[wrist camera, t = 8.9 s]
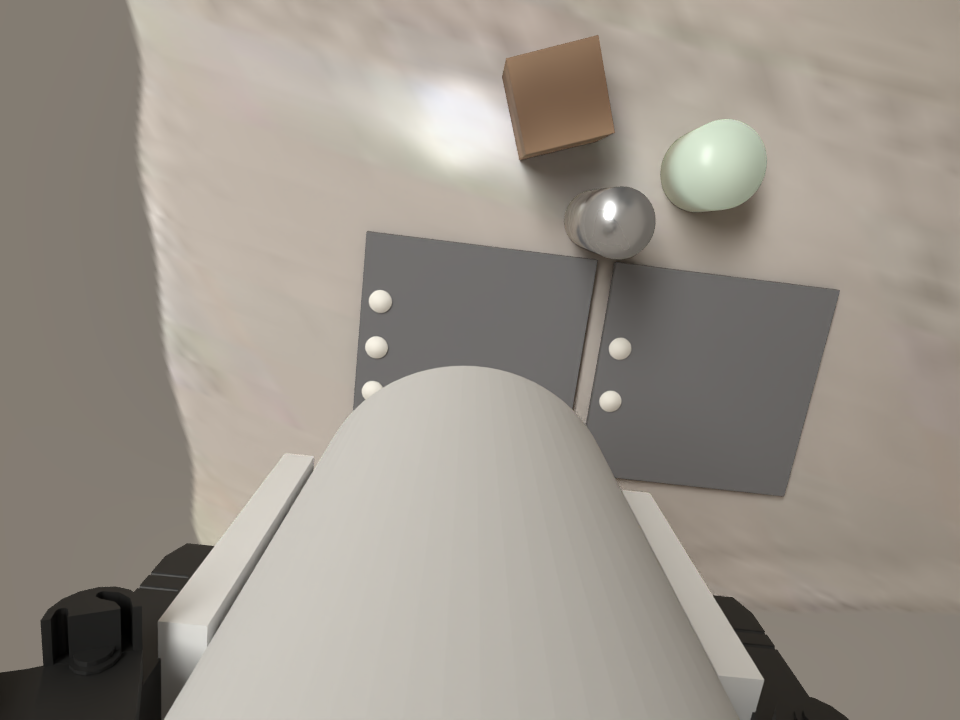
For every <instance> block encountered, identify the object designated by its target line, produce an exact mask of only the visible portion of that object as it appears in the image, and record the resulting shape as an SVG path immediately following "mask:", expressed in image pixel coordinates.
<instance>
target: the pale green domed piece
mask: <svg viewBox="0 0 960 720" xmlns="http://www.w3.org/2000/svg"><path fill="white" fill-rule="evenodd" d="M766 165H767V156H766V150H765V147H764V144H763V142H762V140H761V138H760V137H759V135H758V134H757V133H756V132H755V130H753V129H752V128H751V127H750V126H748V125H747V124H745V123H743V122H740V121H737V120H732V119H721V120H716V121H713V122H710V123H708V124H706V125H704V126H702V127H699V128H697V129H695V130H693V131H691V132H689V133H687V134H685V135H683V136H682V137H680V138H679V139H678V140H676V141H675V142H674V143H673V144H672V145H671V146H670V148H669V149H668V151H667V152H666V154H665V156H664V158H663V161H662V165H661V174H660V175H661V183H662V187H663V190H664V192H665V194H666V196H667V197H668V198H669V200H670V201H671V202H672V203H673V204H675V205H676V206H677V207H679V208H681V209H683V210H686V211H689V212H706V211H716V210H724V209H730V208H734V207H736V206H739V205H740V204H742V203H744V202H745V201H747V200H748V199H749V198H750V197H751V196H752V195H753V194H754V193H755V192H756V191H757V189H758V188H759V186H760V185H761V183H762V181H763V178H764V175H765V171H766Z"/></svg>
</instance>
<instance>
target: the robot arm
mask: <svg viewBox="0 0 960 720" xmlns="http://www.w3.org/2000/svg"><path fill="white" fill-rule="evenodd" d="M313 469H314V456H307V455H298V454H289V453H285V454H284V455H283V456H282V458H281V459H280V460H279V462H278V463H277V464H276V466H275V467H274V468H273V470H272V471H271V472H270V474H269V475H268V476H267V478H266V479H265V480H264V481H263V483H262V484H261V485H260V487H259V488H258V489H257V491H256V492H255V493H254V495H253V496H252V497H251V499H250V500H249V501H248V503H247V504H246V505H245V507H244V508H243V509H242V511H241V512H240V513H239V515H238V516H237V517H236V519H235V520H234V521H233V522H232V524H231V525H230V526H229V528H228V529H227V530H226V532H225V533H224V534H223V536H222V537H221V538H220V540H219V541H218V542H217V544H216V545H215V546H208V545H198V544H185V545H184V546H182V547H180V548H178V549H177V550H175V551H173V552H172V553H170V554H168V555H167V556H165V557H164V559H162V561H161V562H160V563H159V564H158V565H157V566H156V567H155V569H154V570H153V571H152V573H151V575H149V576H148V577H147V578H146V579H145V580H144V581H143V582H142V584H141V585H140V588H139V589H138V588H137V589H136V590H135V591H134V592H133V591H131V590H129V589H124V588H120V587H98V588H93V589H89V590H84V591H80V592H77V593H75V594H73V595H71V596H68V597H66V598H64V599H62V600H60V601H59V602H58V603H56V604H55V605H54V606H52V607H51V608H49V609H48V611H47V612H46V613H45V615H44V616H43V618H42V620H41V634H42V650H43V664H44V665H43V666H40V667H35V668H30V669H24V670H17V671H10V672H2V673H0V720H164V718H165V717H166V715H167V713H168V712H169V710H170V708H171V707H172V705H173V703H174V702H175V700H176V698H177V697H178V695H179V693H180V692H181V690H182V688H183V687H184V685H185V683H186V682H187V680H188V678H189V677H190V675H191V673H192V672H193V670H194V668H195V667H196V665H197V663H198V662H199V660H200V658H201V657H202V655H203V653H204V652H205V650H206V648H207V647H208V645H209V643H210V642H211V640H212V638H213V637H214V635H215V633H216V632H217V630H218V628H219V627H220V625H221V623H222V622H223V620H224V618H225V617H226V615H227V613H228V612H229V610H230V609H231V607H232V605H233V604H234V602H235V600H236V599H237V597H238V595H239V594H240V592H241V590H242V589H243V587H244V585H245V584H246V582H247V580H248V579H249V577H250V575H251V574H252V572H253V570H254V569H255V567H256V565H257V564H258V562H259V560H260V559H261V557H262V555H263V554H264V552H265V550H266V549H267V547H268V545H269V544H270V542H271V540H272V539H273V537H274V535H275V534H276V532H277V530H278V529H279V527H280V525H281V524H282V522H283V520H284V519H285V517H286V515H287V514H288V512H289V510H290V509H291V507H292V505H293V504H294V502H295V500H296V499H297V497H298V495H299V494H300V492H301V490H302V489H303V487H304V485H305V484H306V482H307V480H308V479H309V477H310V475H311V474H312V472H313ZM622 493H623V495H624V497H625V499H626V500H627V502H628V504H629V506H630V508H631V510H632V512H633V514H634V516H635V518H636V520H637V522H638V524H639V526H640V527H641V529H642V531H643V533H644V535H645V537H646V539H647V541H648V543H649V545H650V547H651V549H652V551H653V553H654V555H655V556H656V558H657V560H658V562H659V564H660V566H661V568H662V570H663V572H664V574H665V576H666V578H667V580H668V582H669V583H670V585H671V587H672V589H673V591H674V593H675V595H676V597H677V599H678V601H679V603H680V605H681V607H682V609H683V610H684V612H685V614H686V616H687V618H688V620H689V622H690V624H691V626H692V628H693V630H694V632H695V634H696V636H697V638H698V639H699V641H700V643H701V645H702V647H703V649H704V651H705V653H706V655H707V657H708V659H709V661H710V663H711V665H712V666H713V668H714V670H715V672H716V674H717V676H718V678H719V680H720V682H721V684H722V686H723V688H724V690H725V692H726V694H727V695H728V697H729V699H730V701H731V703H732V705H733V707H734V709H735V711H736V713H737V715H738V717H739V719H740V720H848V718H847V717H845V716H844V715H843V714H841V713H840V712H838V711H837V710H836V709H834V708H833V707H831V706H830V705H828V704H825V703H823V702H821V701H819V700H817V699H815V698H812V697H809V696H808V694H807V693H806V691H805V690H804V688H803V687H802V686H801V684H800V683H799V681H798V680H797V678H796V677H795V675H794V674H793V672H792V671H791V669H790V668H789V667H788V665H787V663H786V662H785V661H784V659H783V658H782V656H781V655H780V653H779V652H778V650H775V648H774V644H773V643H772V642H771V640H770V639H769V637H768V636H767V635H765V633H764V632H765V631H764V630H763V628H762V627H761V625H760V624H759V622H758V621H757V620H756V618H755V617H754V615H753V614H752V613H751V612H750V611H749V610H747V609H746V608H745V607H744V606H743V605H741V604H740V603H739V602H738V601H737V600H735V599H734V598H733V597H724V596H714V595H712V594H711V592H710V590H709V589H708V587H707V585H706V584H705V582H704V581H703V579H702V577H701V576H700V574H699V572H698V571H697V569H696V567H695V566H694V564H693V563H692V561H691V559H690V558H689V556H688V554H687V553H686V551H685V550H684V548H683V546H682V545H681V543H680V541H679V540H678V538H677V536H676V535H675V533H674V532H673V530H672V528H671V527H670V525H669V523H668V522H667V520H666V518H665V517H664V515H663V514H662V512H661V510H660V509H659V507H658V505H657V504H656V502H655V501H654V499H653V497H652V496H651V494H650V493H647V492H638V491H629V490H622Z"/></svg>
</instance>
